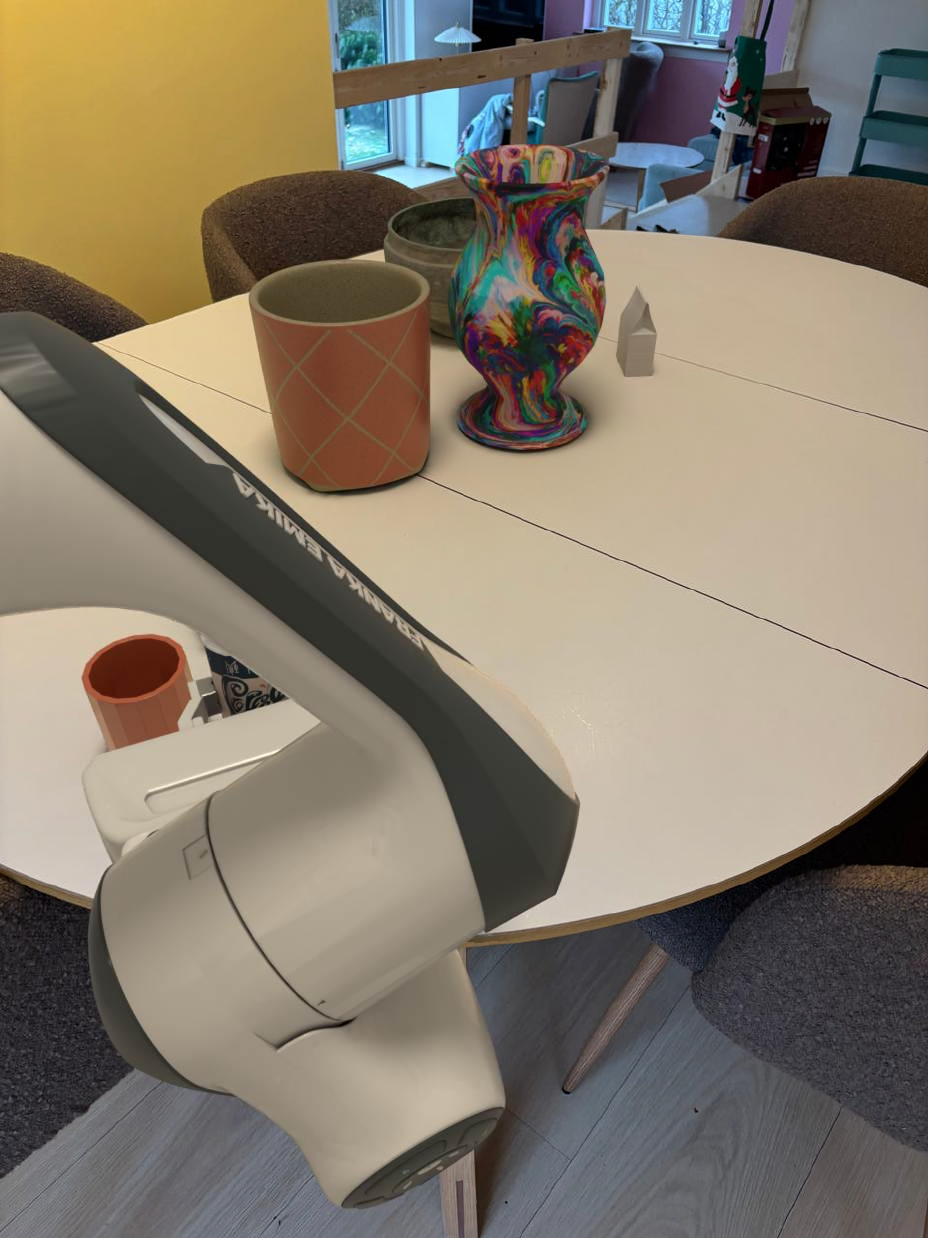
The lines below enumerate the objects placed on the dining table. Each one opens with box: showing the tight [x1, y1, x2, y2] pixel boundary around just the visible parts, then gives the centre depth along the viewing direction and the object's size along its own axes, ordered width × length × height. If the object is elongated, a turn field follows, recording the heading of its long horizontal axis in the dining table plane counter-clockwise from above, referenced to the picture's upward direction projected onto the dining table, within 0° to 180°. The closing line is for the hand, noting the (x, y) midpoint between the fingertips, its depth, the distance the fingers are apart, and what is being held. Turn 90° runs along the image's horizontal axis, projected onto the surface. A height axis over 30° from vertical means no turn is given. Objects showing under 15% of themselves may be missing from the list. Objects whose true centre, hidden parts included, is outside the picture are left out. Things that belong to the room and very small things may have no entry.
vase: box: [447, 143, 611, 450], centre depth 104 cm, size 18×18×30 cm
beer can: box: [199, 634, 290, 719], centre depth 54 cm, size 5×5×12 cm
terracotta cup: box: [81, 633, 194, 752], centre depth 69 cm, size 7×7×9 cm
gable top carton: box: [615, 285, 658, 378], centre depth 122 cm, size 4×7×10 cm, turn 3°
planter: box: [248, 258, 431, 492], centre depth 101 cm, size 19×19×20 cm
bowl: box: [383, 196, 476, 339], centre depth 133 cm, size 32×26×15 cm
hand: (250, 673), depth 55 cm, fingers closed on beer can, 5 cm apart
